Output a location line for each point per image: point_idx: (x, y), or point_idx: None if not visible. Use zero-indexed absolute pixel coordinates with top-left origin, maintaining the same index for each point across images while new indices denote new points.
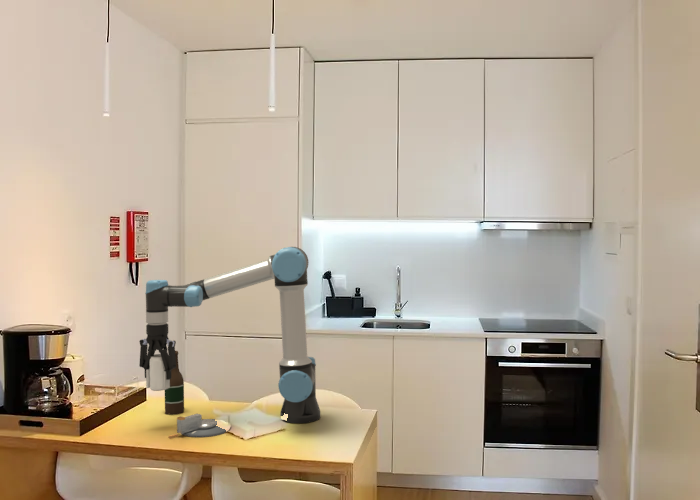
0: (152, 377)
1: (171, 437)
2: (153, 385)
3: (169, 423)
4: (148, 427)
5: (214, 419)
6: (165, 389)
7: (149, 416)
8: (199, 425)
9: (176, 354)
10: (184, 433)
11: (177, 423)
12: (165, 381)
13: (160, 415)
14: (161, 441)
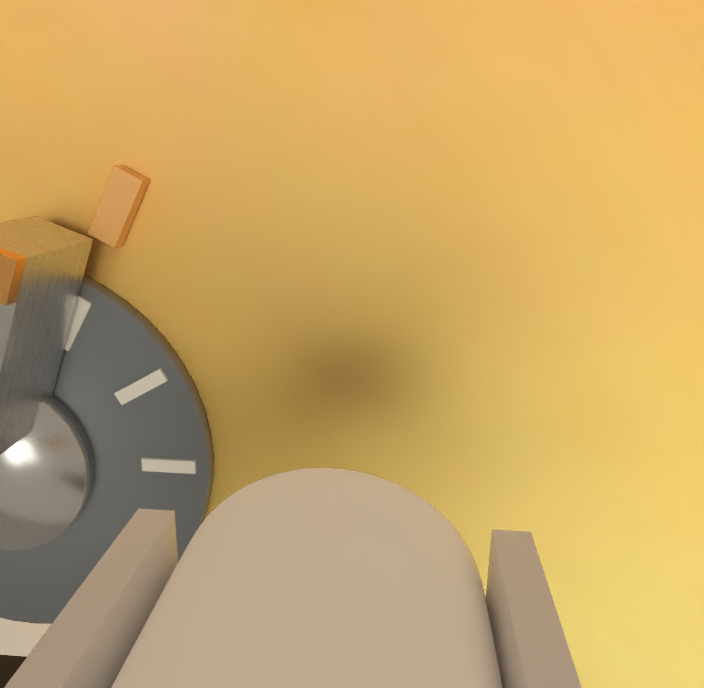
0: (338, 627)
1: (115, 177)
2: (328, 506)
3: None
4: (483, 379)
5: (57, 613)
6: (140, 515)
7: (641, 622)
8: None
9: None
10: None
11: (45, 249)
12: (69, 608)
13: None
14: (147, 81)
